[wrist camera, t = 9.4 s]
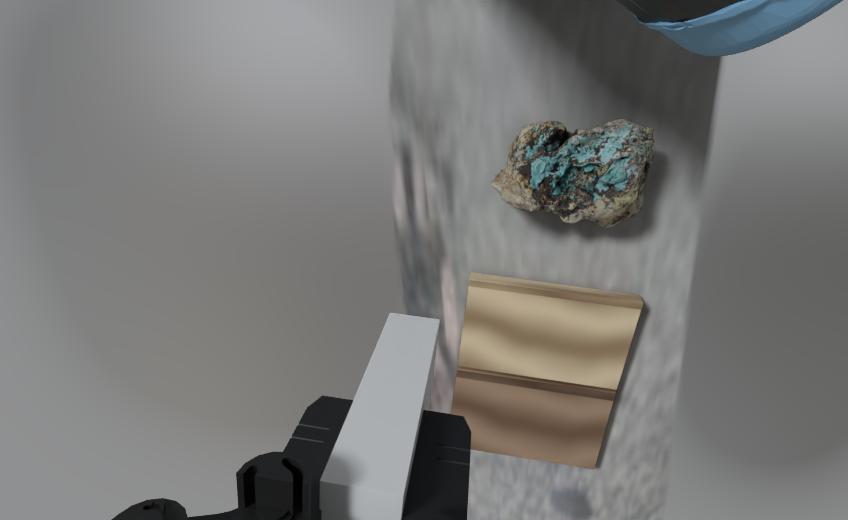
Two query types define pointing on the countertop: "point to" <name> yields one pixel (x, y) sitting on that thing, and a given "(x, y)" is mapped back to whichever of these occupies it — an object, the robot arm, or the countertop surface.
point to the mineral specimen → (578, 171)
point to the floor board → (532, 416)
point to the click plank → (547, 330)
